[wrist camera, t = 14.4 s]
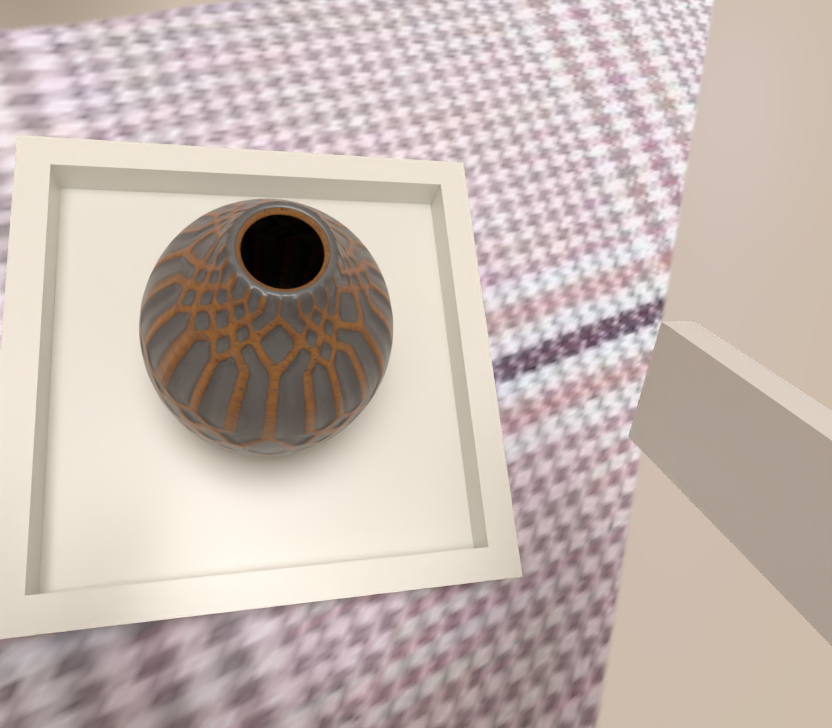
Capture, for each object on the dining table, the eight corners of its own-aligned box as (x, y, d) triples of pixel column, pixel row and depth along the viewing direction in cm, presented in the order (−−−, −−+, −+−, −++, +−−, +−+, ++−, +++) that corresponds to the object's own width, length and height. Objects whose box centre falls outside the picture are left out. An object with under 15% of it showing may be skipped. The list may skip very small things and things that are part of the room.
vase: (405, 392, 23) (497, 290, 15) (239, 518, 21) (245, 475, 13) (286, 241, 24) (314, 67, 16) (109, 345, 21) (36, 199, 13)
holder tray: (2, 636, 19) (-23, 641, 17) (34, 170, 23) (16, 134, 21) (499, 577, 23) (522, 576, 21) (447, 191, 27) (463, 162, 25)
